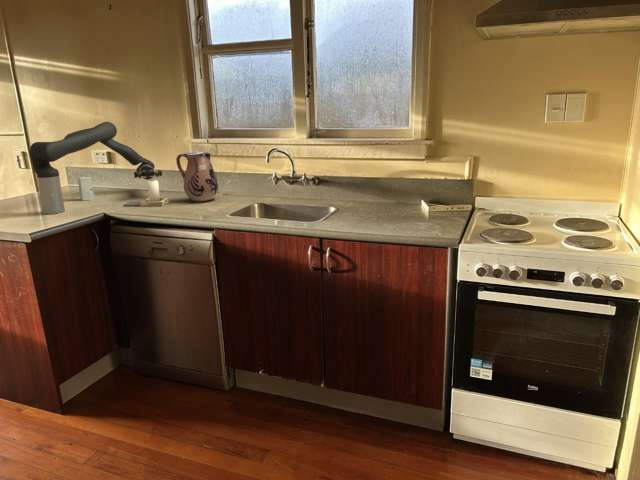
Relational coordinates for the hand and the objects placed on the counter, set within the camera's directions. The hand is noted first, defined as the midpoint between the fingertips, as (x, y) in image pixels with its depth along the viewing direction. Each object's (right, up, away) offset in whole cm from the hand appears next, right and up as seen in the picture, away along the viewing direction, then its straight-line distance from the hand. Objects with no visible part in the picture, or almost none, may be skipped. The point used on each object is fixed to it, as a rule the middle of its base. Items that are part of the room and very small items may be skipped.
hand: (148, 175), depth 251 cm
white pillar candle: (+6, -16, -7) cm, 18 cm away
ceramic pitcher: (+26, -13, +2) cm, 29 cm away
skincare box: (-37, -12, +9) cm, 40 cm away
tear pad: (-4, -16, -7) cm, 18 cm away
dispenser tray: (+6, -16, -7) cm, 18 cm away
